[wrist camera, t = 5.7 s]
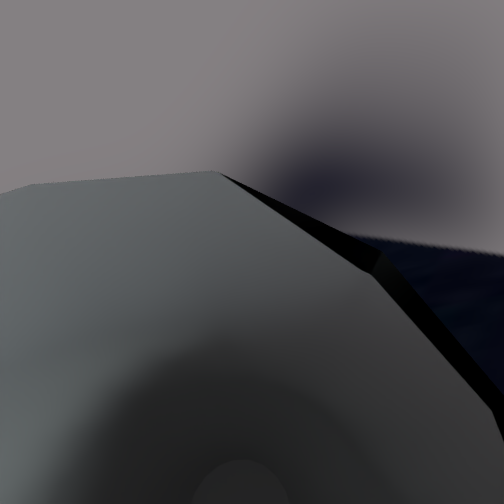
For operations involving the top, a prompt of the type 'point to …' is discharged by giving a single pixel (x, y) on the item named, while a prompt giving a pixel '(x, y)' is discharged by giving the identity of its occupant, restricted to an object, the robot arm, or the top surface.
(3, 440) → the chalice
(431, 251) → the top surface
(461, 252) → the top surface
